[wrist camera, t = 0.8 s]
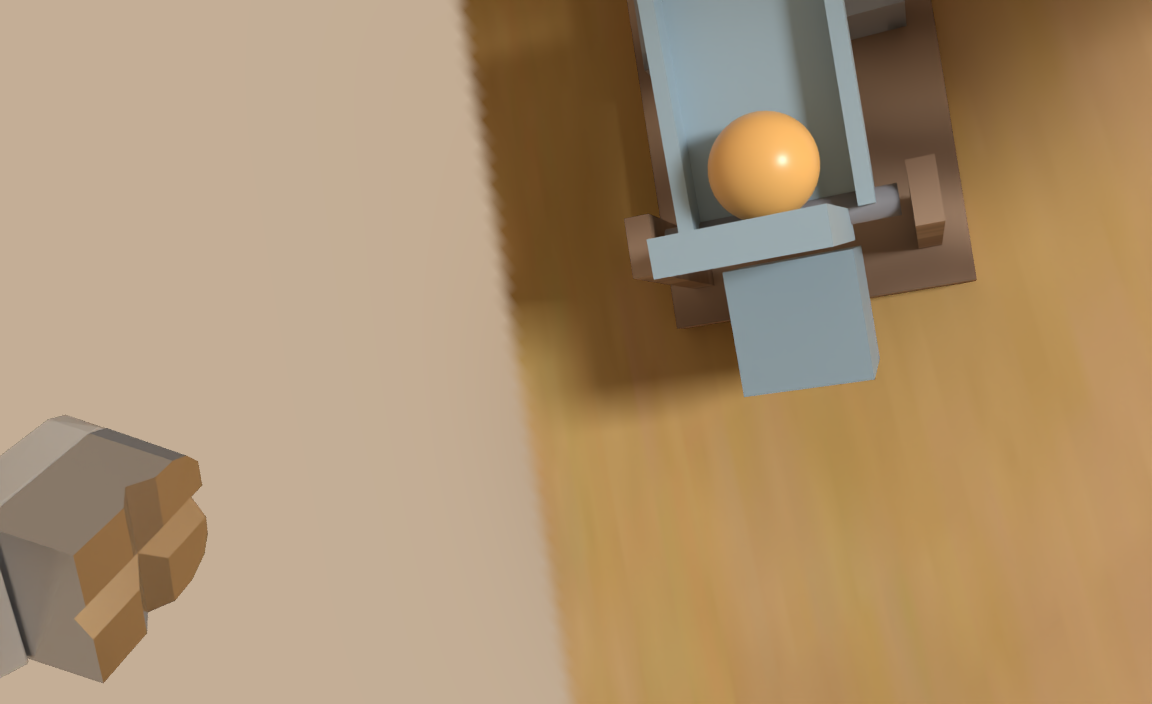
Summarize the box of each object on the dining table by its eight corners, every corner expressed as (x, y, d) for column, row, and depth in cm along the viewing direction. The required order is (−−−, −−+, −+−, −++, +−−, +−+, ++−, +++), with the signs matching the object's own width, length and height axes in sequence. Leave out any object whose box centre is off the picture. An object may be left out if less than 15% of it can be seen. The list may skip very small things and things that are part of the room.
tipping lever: (925, 352, 41) (933, 425, 26) (725, 380, 44) (628, 461, 29) (855, -84, 40) (819, -269, 25) (653, -23, 43) (514, -155, 28)
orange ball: (783, 86, 35) (771, 88, 32) (845, 173, 36) (840, 186, 32) (697, 151, 37) (675, 160, 33) (756, 235, 37) (742, 253, 33)
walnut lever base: (975, 280, 44) (990, 264, 33) (684, 328, 49) (611, 328, 38) (886, -262, 45) (872, -458, 34) (609, -162, 50) (515, -304, 39)
